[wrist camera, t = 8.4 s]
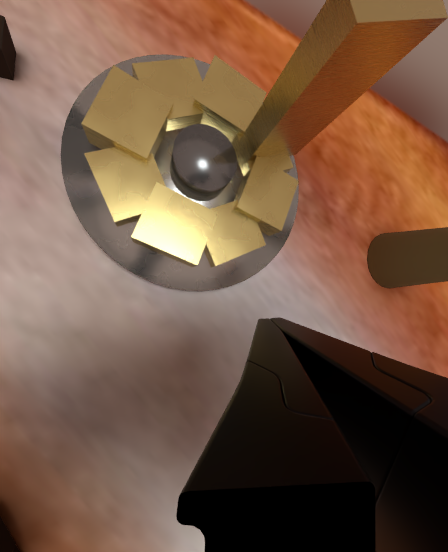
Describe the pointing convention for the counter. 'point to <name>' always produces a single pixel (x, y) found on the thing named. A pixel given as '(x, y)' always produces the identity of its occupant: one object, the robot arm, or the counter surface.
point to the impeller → (178, 177)
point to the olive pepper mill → (409, 257)
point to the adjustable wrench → (6, 51)
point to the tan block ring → (240, 125)
